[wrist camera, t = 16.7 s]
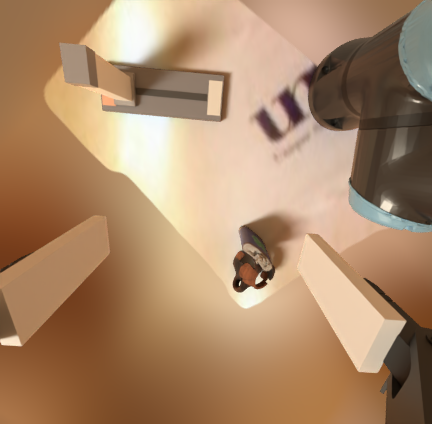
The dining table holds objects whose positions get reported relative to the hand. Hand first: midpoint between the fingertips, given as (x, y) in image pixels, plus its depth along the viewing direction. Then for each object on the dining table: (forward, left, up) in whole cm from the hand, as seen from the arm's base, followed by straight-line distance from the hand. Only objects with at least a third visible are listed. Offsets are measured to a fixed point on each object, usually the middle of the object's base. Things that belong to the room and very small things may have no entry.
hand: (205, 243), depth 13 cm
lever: (+21, +11, -33) cm, 40 cm away
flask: (-20, -3, -35) cm, 40 cm away
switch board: (+17, +5, -35) cm, 39 cm away
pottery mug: (-28, +1, -35) cm, 45 cm away
